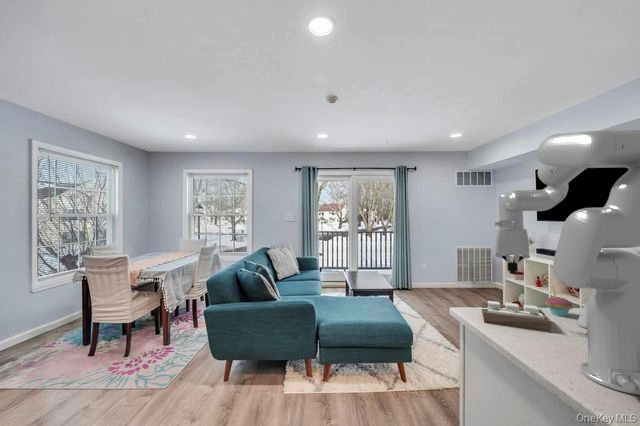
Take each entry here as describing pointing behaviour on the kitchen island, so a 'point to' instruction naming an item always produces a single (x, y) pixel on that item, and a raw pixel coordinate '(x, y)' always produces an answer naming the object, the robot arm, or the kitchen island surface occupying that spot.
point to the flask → (583, 316)
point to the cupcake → (558, 305)
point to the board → (516, 318)
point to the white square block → (493, 304)
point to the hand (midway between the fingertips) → (512, 273)
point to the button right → (531, 308)
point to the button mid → (511, 306)
